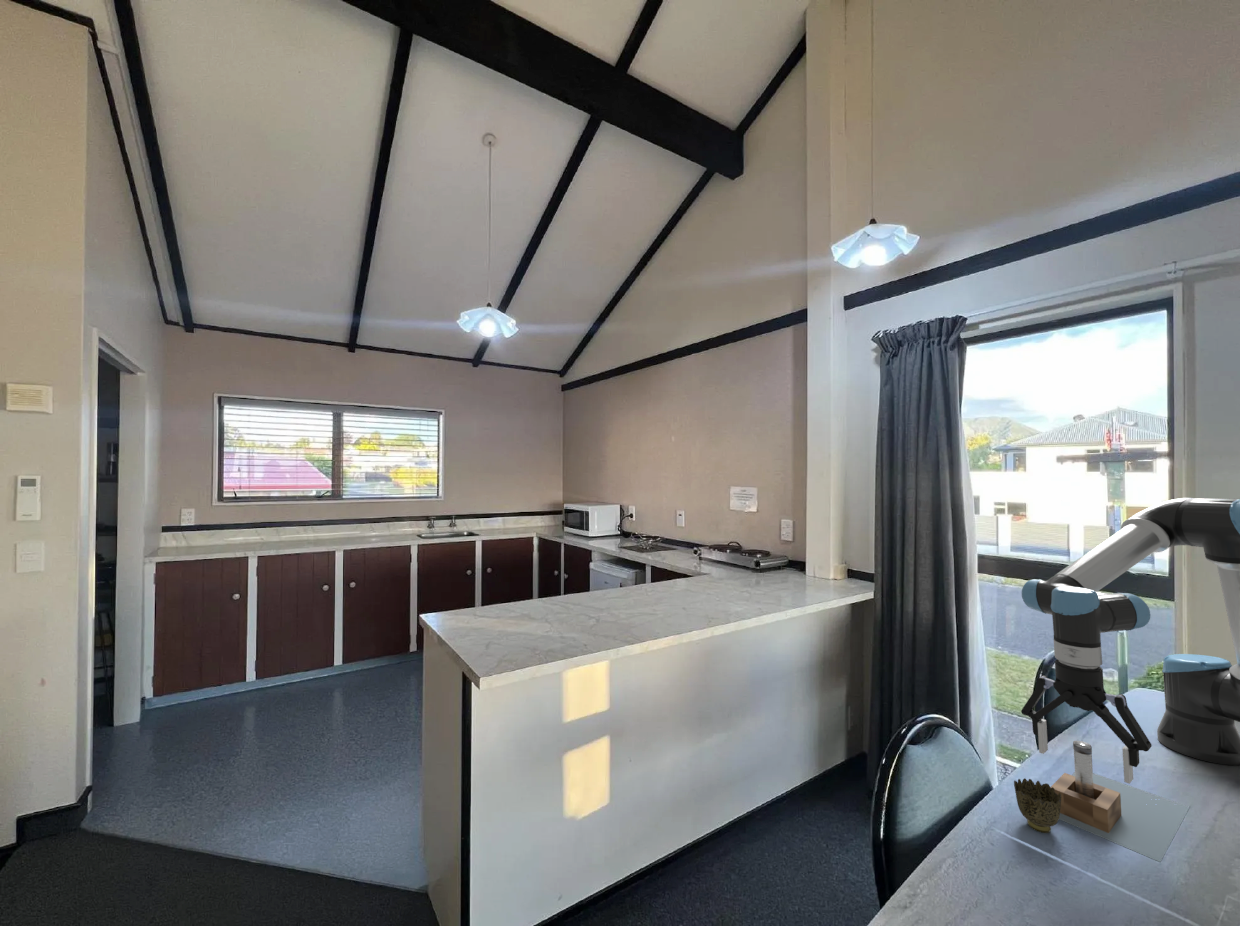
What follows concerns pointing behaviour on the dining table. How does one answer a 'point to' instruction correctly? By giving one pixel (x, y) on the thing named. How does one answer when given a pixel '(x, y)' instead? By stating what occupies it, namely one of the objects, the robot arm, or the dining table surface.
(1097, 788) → the wooden block with hole
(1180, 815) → the mat
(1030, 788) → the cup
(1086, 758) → the metal cylinder rod
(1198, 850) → the dining table surface
